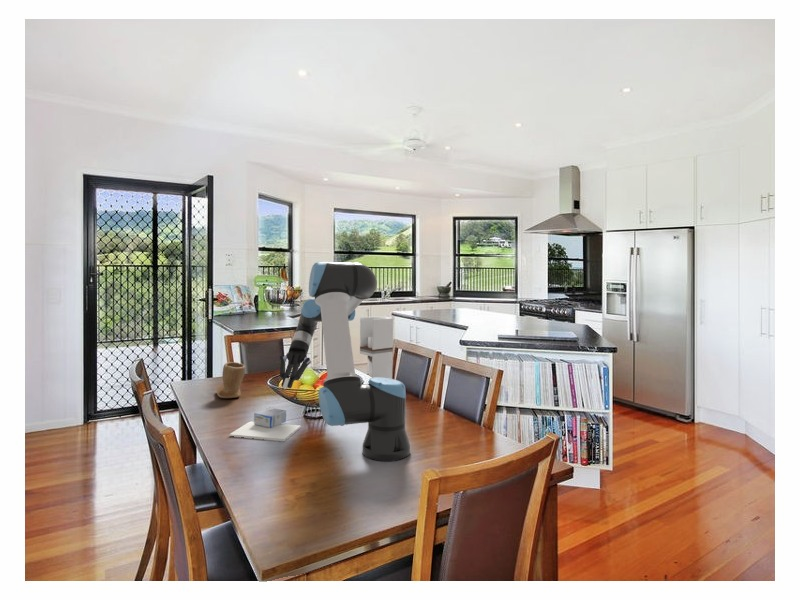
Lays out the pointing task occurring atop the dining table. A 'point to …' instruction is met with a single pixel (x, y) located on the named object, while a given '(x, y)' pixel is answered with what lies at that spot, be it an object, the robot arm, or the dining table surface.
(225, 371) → the tan boot
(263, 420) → the medicine box
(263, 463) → the dining table surface
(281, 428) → the cutting board
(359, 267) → the robot arm
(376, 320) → the display case
